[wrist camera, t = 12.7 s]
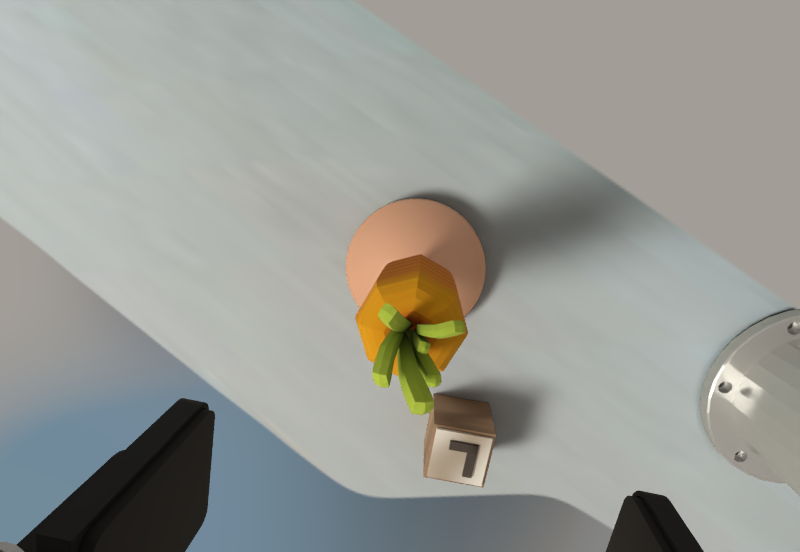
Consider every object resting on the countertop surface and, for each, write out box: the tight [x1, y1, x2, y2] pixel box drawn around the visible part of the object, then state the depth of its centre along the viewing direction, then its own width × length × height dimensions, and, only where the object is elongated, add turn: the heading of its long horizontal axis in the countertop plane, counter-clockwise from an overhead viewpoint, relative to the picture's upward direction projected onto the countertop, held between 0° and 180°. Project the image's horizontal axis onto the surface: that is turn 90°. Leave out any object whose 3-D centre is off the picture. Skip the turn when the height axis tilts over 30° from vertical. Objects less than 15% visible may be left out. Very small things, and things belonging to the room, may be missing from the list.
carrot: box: [356, 254, 468, 415], centre depth 23 cm, size 5×5×15 cm
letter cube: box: [423, 394, 496, 487], centre depth 32 cm, size 4×4×4 cm
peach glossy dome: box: [346, 198, 486, 317], centre depth 31 cm, size 9×9×1 cm
